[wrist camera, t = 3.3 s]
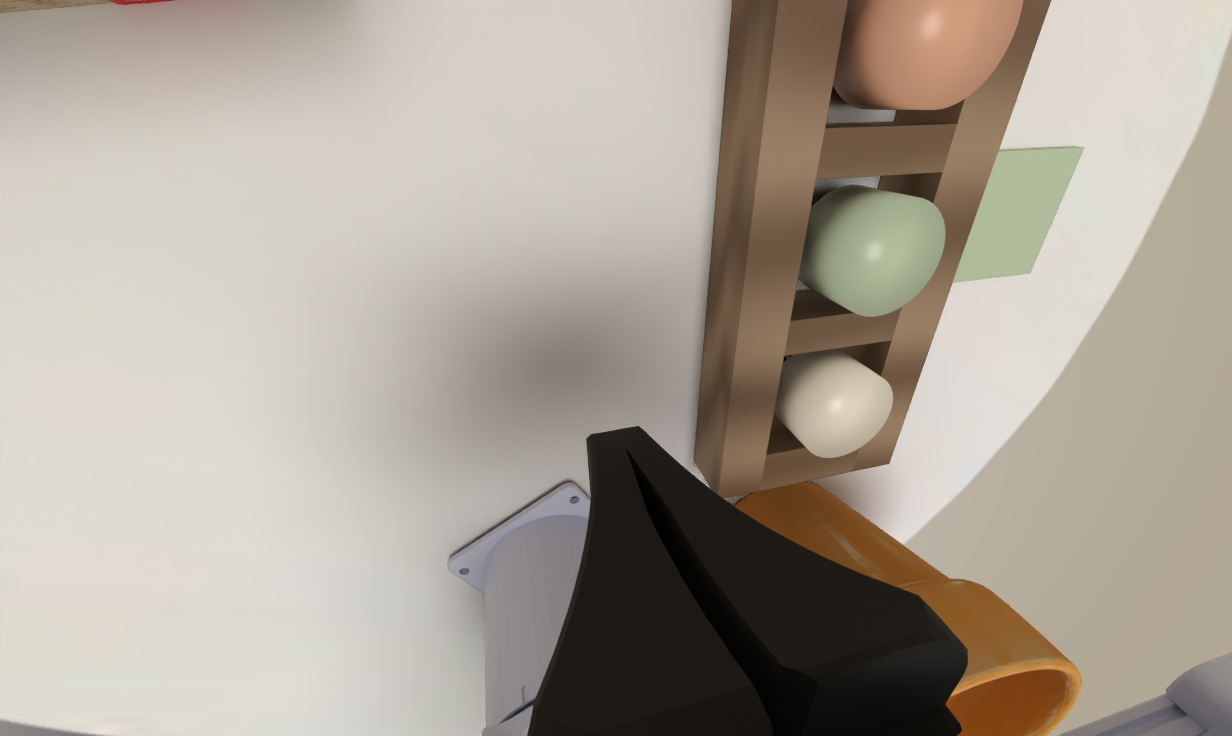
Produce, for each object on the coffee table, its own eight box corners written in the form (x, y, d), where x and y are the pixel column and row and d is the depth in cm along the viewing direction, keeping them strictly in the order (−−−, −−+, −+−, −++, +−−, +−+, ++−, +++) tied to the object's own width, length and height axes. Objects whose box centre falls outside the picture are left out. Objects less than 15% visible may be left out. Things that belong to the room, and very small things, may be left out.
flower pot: (620, 553, 28) (711, 844, 17) (811, 400, 26) (1058, 618, 15) (737, 626, 35) (854, 864, 24) (894, 512, 33) (1101, 714, 22)
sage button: (871, 286, 21) (923, 310, 19) (784, 296, 20) (826, 322, 18) (899, 182, 19) (962, 193, 16) (802, 188, 18) (853, 200, 16)
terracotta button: (918, 108, 18) (989, 108, 15) (815, 110, 17) (873, 111, 14) (959, -45, 15) (1049, -74, 13) (842, -52, 15) (916, -83, 12)
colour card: (1021, 270, 25) (1030, 273, 25) (927, 281, 24) (935, 284, 23) (1072, 146, 22) (1084, 147, 22) (969, 151, 21) (979, 152, 20)
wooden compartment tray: (851, 431, 28) (889, 463, 25) (694, 460, 26) (717, 499, 23) (1013, -135, 16) (1114, -181, 13) (746, -164, 14) (805, -225, 11)
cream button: (838, 414, 24) (878, 448, 22) (762, 428, 24) (794, 465, 21) (858, 338, 22) (905, 367, 20) (775, 350, 21) (813, 382, 19)
